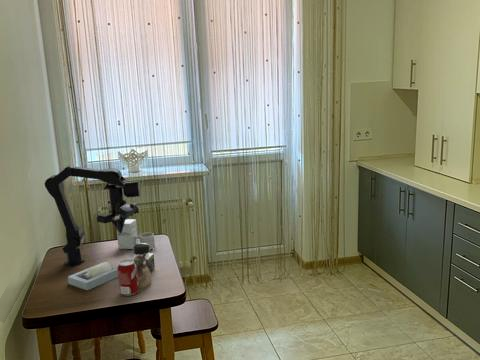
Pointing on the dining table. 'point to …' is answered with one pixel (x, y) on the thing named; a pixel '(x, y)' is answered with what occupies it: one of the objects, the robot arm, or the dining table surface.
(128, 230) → the supplement box
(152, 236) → the mug
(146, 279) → the figurine
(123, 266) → the soda can
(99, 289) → the dining table surface
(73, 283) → the u rest
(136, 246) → the medicine bottle
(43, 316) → the dining table surface
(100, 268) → the white bottle
